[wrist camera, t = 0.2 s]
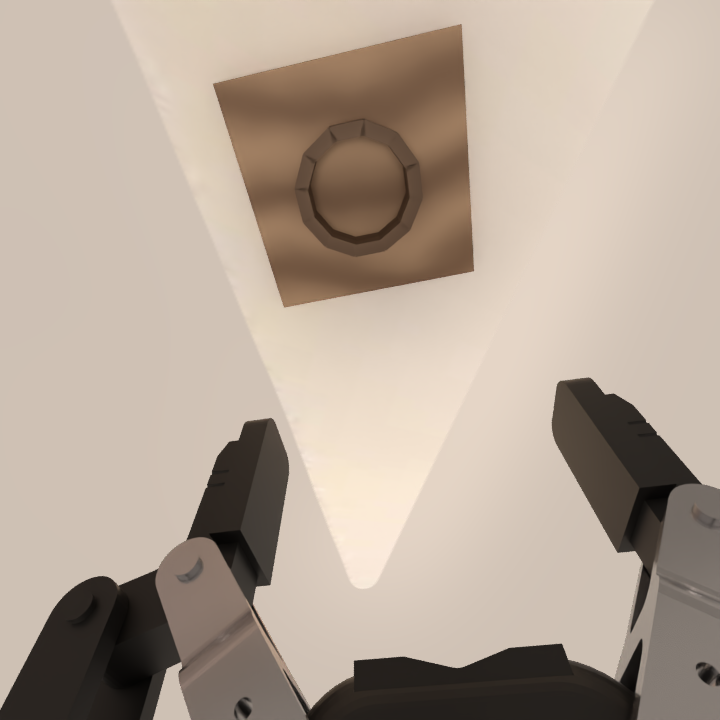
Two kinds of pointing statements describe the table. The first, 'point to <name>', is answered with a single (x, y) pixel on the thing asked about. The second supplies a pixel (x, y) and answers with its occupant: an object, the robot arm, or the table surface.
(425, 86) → the socket board
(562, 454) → the robot arm
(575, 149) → the table surface
